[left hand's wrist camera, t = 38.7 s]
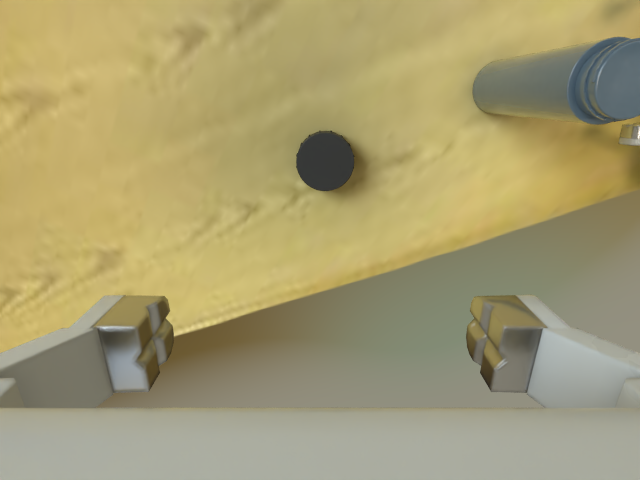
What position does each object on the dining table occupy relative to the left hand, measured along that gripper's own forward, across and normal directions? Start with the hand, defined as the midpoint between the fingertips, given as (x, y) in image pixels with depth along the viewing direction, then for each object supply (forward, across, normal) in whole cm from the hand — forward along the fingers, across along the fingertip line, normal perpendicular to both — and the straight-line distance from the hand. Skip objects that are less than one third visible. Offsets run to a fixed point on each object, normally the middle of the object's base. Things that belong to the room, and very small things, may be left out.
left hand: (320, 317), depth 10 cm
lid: (+25, 0, 0) cm, 25 cm away
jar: (+26, +15, +6) cm, 31 cm away
